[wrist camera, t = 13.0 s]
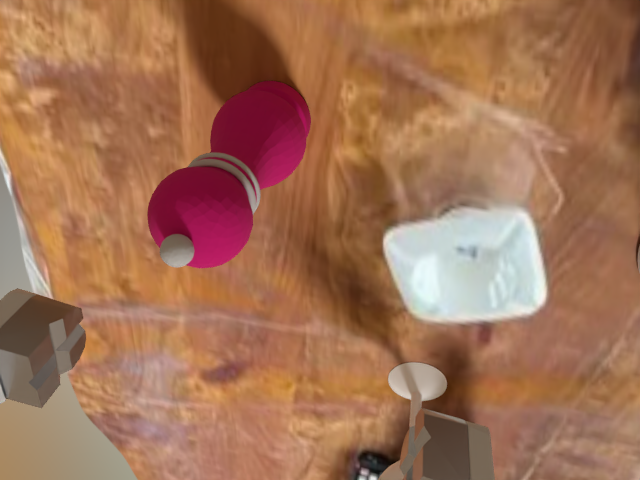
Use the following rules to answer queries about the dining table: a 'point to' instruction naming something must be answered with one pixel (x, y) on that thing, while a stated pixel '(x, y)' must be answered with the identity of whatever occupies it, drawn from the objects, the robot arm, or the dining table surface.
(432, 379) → the champagne flute
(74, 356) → the robot arm
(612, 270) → the dining table surface
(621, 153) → the dining table surface
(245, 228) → the pepper mill
